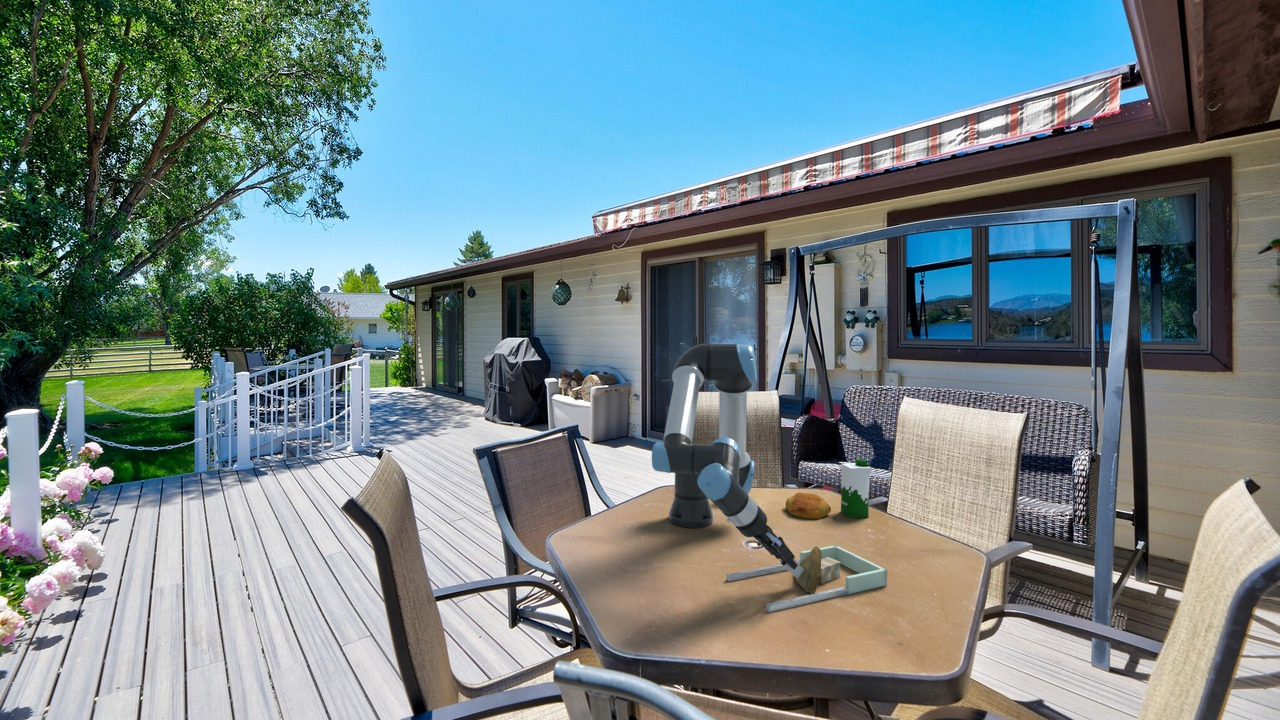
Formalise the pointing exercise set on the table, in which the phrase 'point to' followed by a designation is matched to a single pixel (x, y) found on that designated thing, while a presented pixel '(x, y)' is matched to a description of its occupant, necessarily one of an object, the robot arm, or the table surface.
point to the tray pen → (855, 569)
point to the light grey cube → (824, 573)
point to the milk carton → (855, 489)
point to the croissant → (807, 506)
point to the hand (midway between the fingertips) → (798, 572)
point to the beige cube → (833, 567)
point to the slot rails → (788, 602)
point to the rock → (810, 570)
